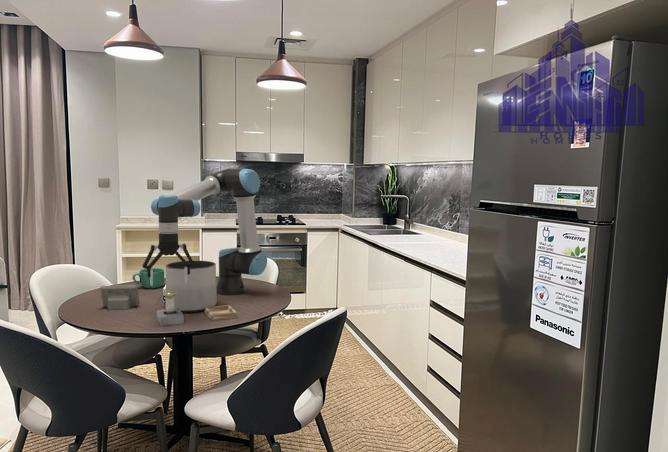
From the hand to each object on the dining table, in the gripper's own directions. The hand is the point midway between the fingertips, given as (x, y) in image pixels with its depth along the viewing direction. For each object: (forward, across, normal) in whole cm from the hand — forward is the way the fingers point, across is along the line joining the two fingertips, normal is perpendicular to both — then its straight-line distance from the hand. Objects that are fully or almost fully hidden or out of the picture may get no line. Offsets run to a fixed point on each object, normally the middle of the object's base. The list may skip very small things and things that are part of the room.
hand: (169, 283), depth 201 cm
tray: (+16, +21, 0) cm, 26 cm away
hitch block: (+16, 0, 0) cm, 16 cm away
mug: (+16, -2, +69) cm, 71 cm away
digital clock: (+16, -17, +32) cm, 39 cm away
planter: (+16, +12, +19) cm, 28 cm away
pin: (+16, 0, 0) cm, 16 cm away
